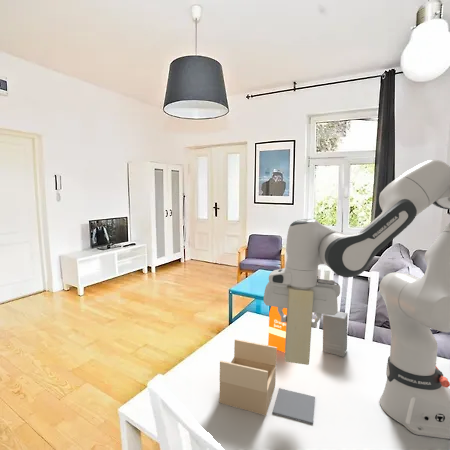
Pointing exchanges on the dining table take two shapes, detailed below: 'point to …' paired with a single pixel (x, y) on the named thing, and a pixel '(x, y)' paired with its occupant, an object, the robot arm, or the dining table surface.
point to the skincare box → (335, 333)
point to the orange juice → (277, 329)
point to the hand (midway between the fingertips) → (298, 324)
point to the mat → (294, 405)
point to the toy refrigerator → (298, 325)
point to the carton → (249, 377)
